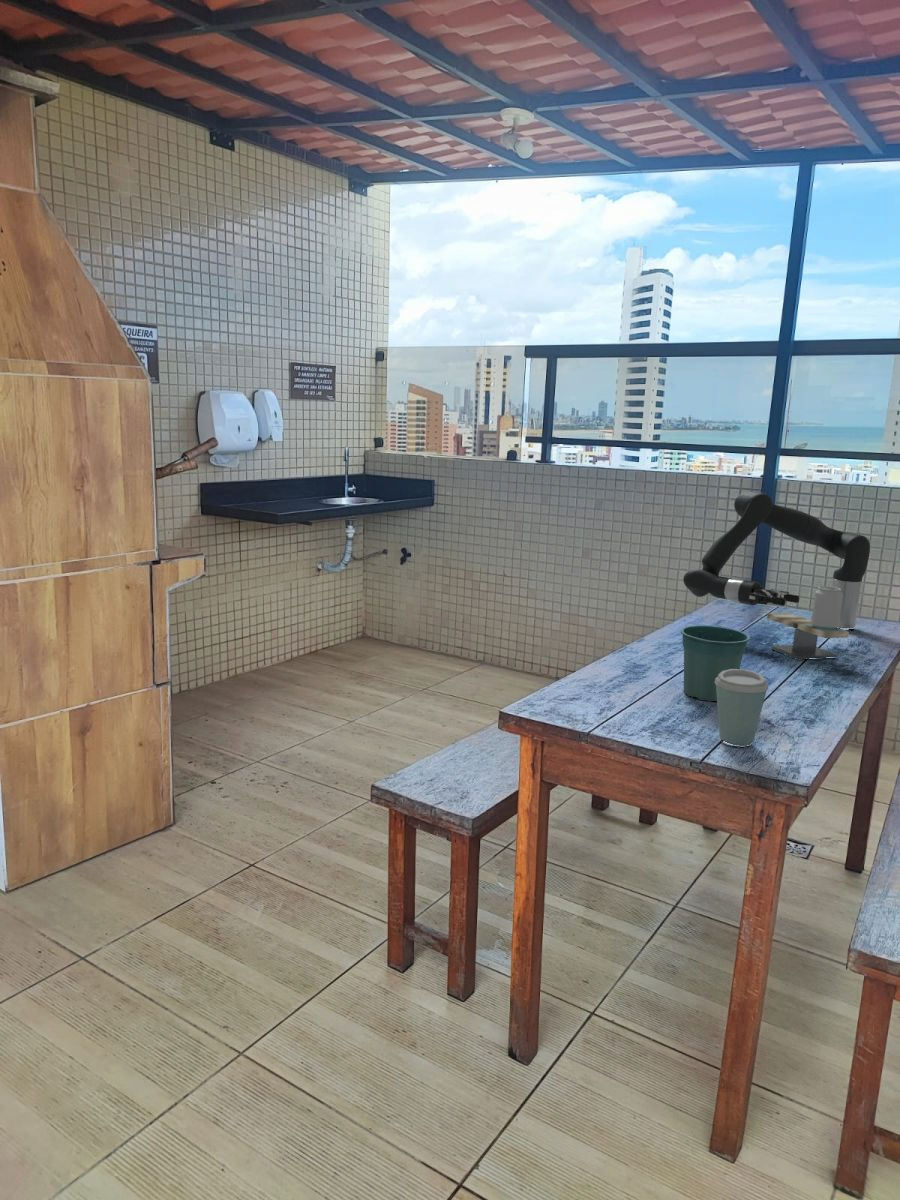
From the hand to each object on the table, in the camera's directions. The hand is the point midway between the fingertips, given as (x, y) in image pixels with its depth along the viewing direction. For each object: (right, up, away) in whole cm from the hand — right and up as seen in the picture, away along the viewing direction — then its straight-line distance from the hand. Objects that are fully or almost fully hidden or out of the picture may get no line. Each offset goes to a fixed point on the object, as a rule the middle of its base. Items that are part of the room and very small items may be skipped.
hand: (792, 600), depth 254 cm
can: (+7, -8, -7) cm, 13 cm away
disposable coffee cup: (-43, -30, -76) cm, 92 cm away
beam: (+5, -7, 0) cm, 9 cm away
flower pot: (-39, -24, -44) cm, 63 cm away
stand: (+4, -16, +2) cm, 17 cm away
